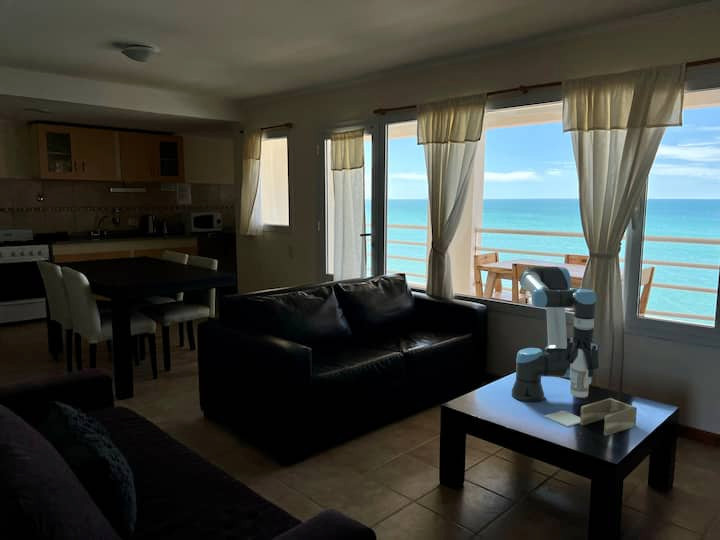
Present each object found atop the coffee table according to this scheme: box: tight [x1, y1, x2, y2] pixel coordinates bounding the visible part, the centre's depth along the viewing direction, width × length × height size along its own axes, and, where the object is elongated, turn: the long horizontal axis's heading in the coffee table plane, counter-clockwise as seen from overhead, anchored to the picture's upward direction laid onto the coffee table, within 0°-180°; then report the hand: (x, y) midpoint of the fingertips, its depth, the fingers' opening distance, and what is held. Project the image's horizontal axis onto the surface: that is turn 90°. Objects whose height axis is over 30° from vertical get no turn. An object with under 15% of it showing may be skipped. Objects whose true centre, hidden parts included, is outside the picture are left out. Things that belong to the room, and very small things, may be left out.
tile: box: [544, 409, 581, 428], centre depth 224 cm, size 12×12×1 cm
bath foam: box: [569, 349, 590, 398], centre depth 212 cm, size 7×7×20 cm
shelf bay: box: [579, 397, 638, 436], centre depth 217 cm, size 12×19×8 cm, turn 119°
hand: (580, 380), depth 213 cm, fingers closed on bath foam, 7 cm apart
